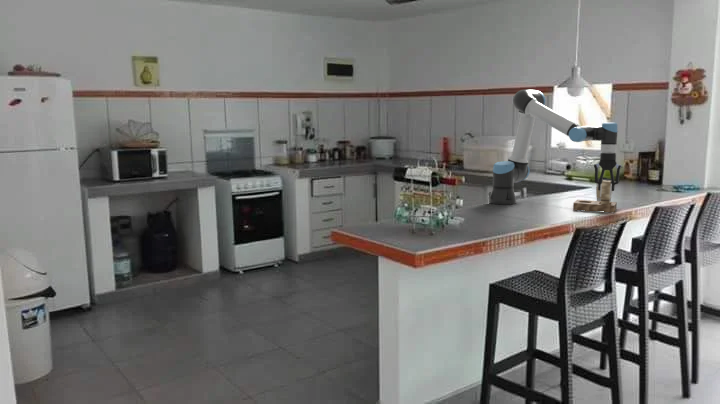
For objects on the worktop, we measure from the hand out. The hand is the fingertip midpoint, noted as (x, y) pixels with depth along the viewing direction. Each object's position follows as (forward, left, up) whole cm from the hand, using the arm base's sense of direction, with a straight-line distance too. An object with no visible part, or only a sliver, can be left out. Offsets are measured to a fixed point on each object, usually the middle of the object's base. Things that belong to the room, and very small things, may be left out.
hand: (605, 196), depth 307 cm
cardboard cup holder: (-5, 0, -8) cm, 9 cm away
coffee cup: (-3, +19, -8) cm, 21 cm away
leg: (0, 0, -6) cm, 6 cm away
